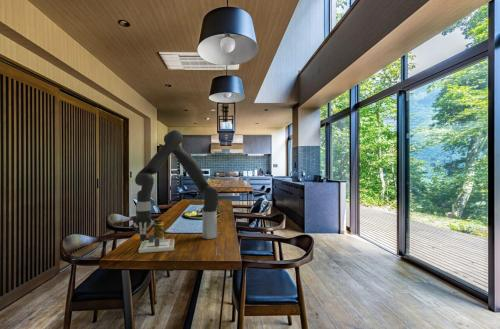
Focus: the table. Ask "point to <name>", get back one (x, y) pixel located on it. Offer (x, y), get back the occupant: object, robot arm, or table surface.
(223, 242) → the table surface
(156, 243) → the block
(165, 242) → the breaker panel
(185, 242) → the table surface
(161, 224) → the condiment
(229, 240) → the table surface
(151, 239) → the block
